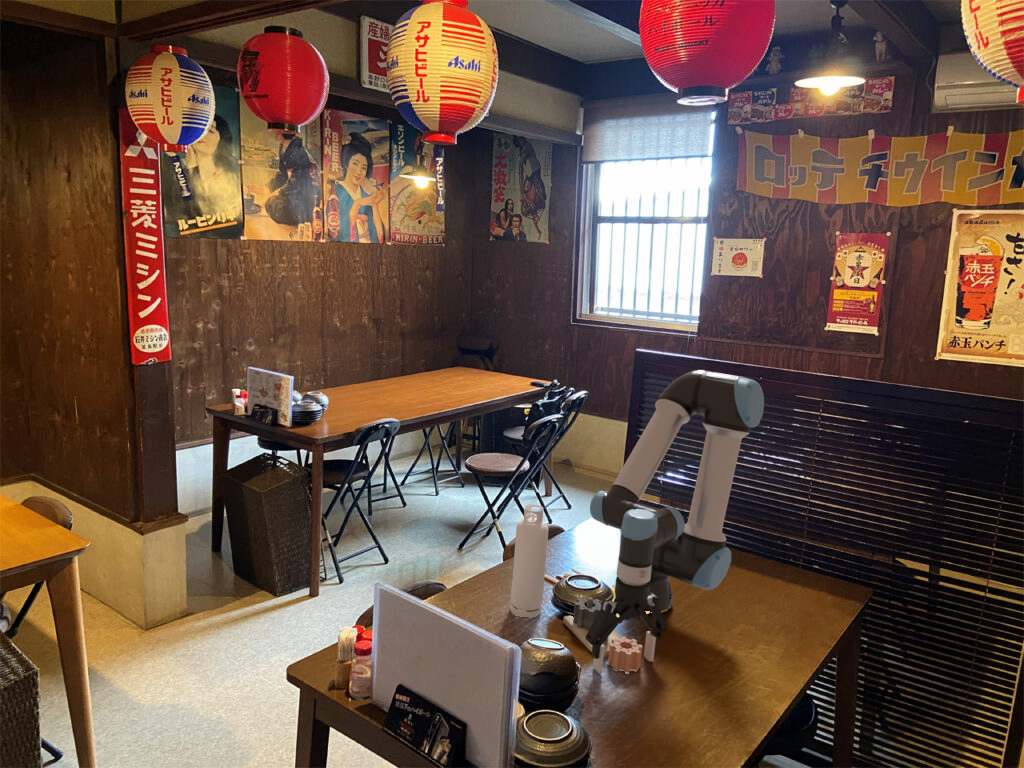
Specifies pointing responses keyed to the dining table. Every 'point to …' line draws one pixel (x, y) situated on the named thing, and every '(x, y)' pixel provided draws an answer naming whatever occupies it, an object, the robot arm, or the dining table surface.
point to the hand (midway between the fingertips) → (623, 665)
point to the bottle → (529, 563)
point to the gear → (624, 654)
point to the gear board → (584, 632)
